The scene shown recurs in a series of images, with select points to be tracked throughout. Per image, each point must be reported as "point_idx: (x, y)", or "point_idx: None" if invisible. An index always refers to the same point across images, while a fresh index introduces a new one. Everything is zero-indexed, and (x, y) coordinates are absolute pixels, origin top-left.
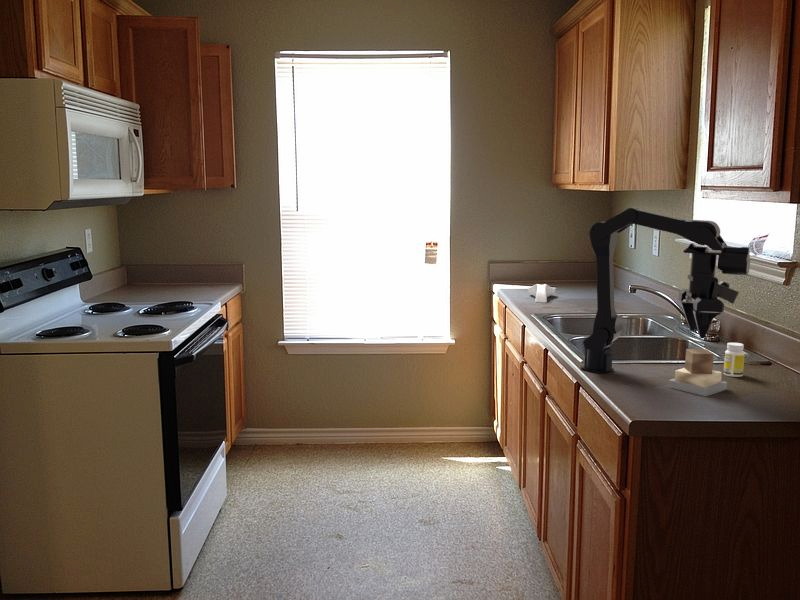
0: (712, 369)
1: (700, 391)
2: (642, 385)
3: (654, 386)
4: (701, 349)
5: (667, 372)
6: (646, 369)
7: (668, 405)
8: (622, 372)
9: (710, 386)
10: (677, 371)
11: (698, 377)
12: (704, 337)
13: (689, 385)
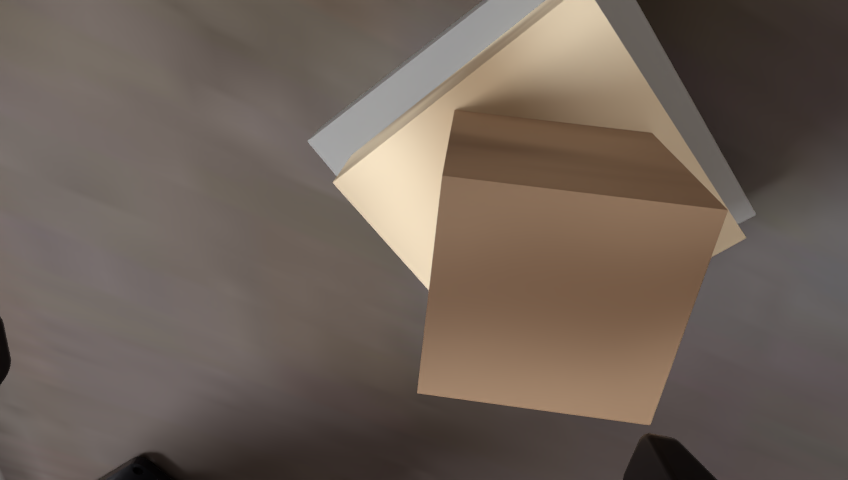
0: (663, 145)
1: None
2: (446, 435)
3: None
4: (442, 242)
5: (106, 181)
6: (61, 282)
7: (845, 464)
8: (173, 428)
9: (699, 152)
10: None
11: None
12: (680, 452)
13: None
